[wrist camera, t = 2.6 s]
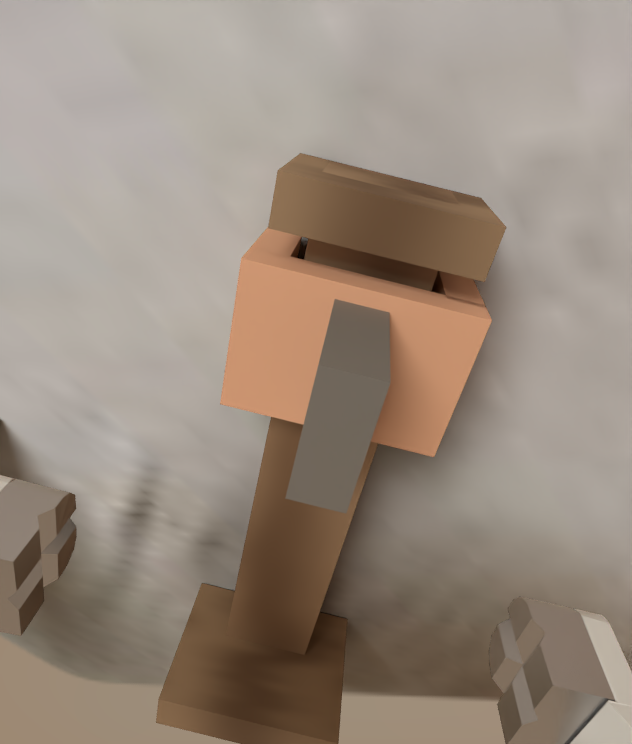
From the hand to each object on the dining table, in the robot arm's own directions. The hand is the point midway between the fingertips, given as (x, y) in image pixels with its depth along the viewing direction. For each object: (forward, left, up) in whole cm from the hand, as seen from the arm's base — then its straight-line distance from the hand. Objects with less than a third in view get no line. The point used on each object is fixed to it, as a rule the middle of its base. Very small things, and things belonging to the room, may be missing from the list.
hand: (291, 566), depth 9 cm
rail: (0, +7, -11) cm, 13 cm away
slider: (0, 0, -11) cm, 11 cm away
